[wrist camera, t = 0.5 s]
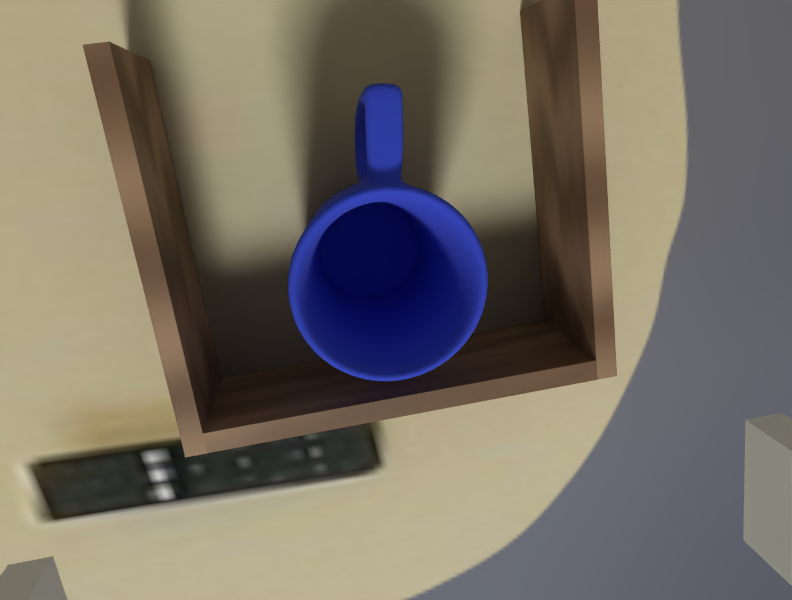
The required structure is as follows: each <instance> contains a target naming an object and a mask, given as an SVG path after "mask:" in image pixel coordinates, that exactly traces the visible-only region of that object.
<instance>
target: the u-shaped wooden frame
mask: <svg viewBox="0 0 792 600" xmlns="http://www.w3.org/2000/svg"><path fill="white" fill-rule="evenodd" d="M520 15H521V28H522V40H523V52H524V65H525V77H526V89H527V101H528V114H529V126H530V138H531V150H532V163H533V175H534V187H535V200H536V212H537V224H538V236H539V249H540V261H541V273H542V286H543V298H544V310H545V321H542V322H536V323H531V324H525V325H519V326H514V327H508V328H502V329H497V330H491V331H486V332H480V333H474V334H472V335H471V336H470V337H469V339H468V340H467V341H466V343H465V344H464V345H463V346H462V347H461V348H460V350H459V351H457V352H456V353H455V354H454V355H453V356H452V357H451V358H450V359H448V360H447V361H446V362H444V363H443V364H441V365H440V366H438V367H436V368H434V369H432V370H431V371H428V372H426V373H424V374H422V375H418V376H415V377H412V378H408V379H403V380H396V381H374V380H368V379H363V378H359V377H355V376H352V375H350V374H347V373H345V372H343V371H341V370H339V369H337V368H335V367H333V366H332V365H330V364H329V363H327V362H326V361H325V360H323V361H317V362H312V363H306V364H300V365H295V366H289V367H283V368H278V369H272V370H267V371H261V372H255V373H250V374H244V375H239V376H233V377H227V378H222V379H221V377H220V372H219V368H218V363H217V359H216V355H215V350H214V346H213V341H212V337H211V332H210V328H209V323H208V319H207V315H206V310H205V306H204V301H203V297H202V292H201V288H200V283H199V279H198V275H197V270H196V266H195V261H194V257H193V252H192V248H191V243H190V239H189V235H188V230H187V226H186V221H185V217H184V212H183V208H182V203H181V199H180V195H179V190H178V186H177V181H176V177H175V172H174V168H173V163H172V159H171V155H170V150H169V146H168V141H167V137H166V132H165V128H164V123H163V119H162V115H161V110H160V106H159V101H158V97H157V92H156V88H155V83H154V79H153V75H152V70H151V66H150V61H149V60H147V59H145V58H143V57H141V56H139V55H137V54H134V53H132V52H130V51H128V50H126V49H124V48H122V47H120V46H117V45H115V44H113V43H111V42H102V43H94V44H86V45H83V48H84V52H85V56H86V60H87V64H88V68H89V72H90V76H91V80H92V84H93V88H94V92H95V96H96V100H97V104H98V108H99V112H100V116H101V120H102V124H103V128H104V132H105V136H106V140H107V144H108V148H109V152H110V156H111V160H112V164H113V168H114V172H115V176H116V180H117V184H118V188H119V192H120V196H121V200H122V204H123V208H124V212H125V216H126V221H127V225H128V229H129V233H130V237H131V241H132V245H133V249H134V253H135V257H136V261H137V265H138V269H139V273H140V277H141V281H142V285H143V289H144V293H145V297H146V301H147V305H148V309H149V313H150V317H151V321H152V325H153V329H154V333H155V337H156V341H157V345H158V349H159V353H160V357H161V361H162V365H163V369H164V373H165V377H166V381H167V385H168V389H169V393H170V397H171V401H172V405H173V409H174V413H175V417H176V421H177V425H178V429H179V433H180V437H181V441H182V445H183V449H184V453H185V457H189V456H195V455H200V454H205V453H211V452H216V451H221V450H226V449H232V448H237V447H242V446H248V445H253V444H258V443H264V442H269V441H274V440H279V439H285V438H290V437H295V436H301V435H306V434H311V433H317V432H322V431H327V430H332V429H338V428H343V427H348V426H354V425H359V424H364V423H370V422H375V421H380V420H385V419H391V418H396V417H401V416H407V415H412V414H417V413H423V412H428V411H433V410H438V409H444V408H449V407H454V406H460V405H465V404H470V403H476V402H481V401H486V400H491V399H497V398H502V397H507V396H513V395H518V394H523V393H529V392H534V391H539V390H544V389H550V388H555V387H560V386H566V385H571V384H576V383H582V382H587V381H592V380H598V379H603V378H608V377H613V376H617V368H616V349H615V330H614V311H613V292H612V273H611V253H610V234H609V215H608V196H607V177H606V158H605V139H604V119H603V100H602V81H601V62H600V43H599V24H598V5H597V0H541V1H540V2H538V3H536V4H534V5H532V6H531V7H529V8H527V9H525V10H523V11H521V12H520Z"/></svg>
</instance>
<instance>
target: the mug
mask: <svg viewBox="0 0 792 600" xmlns="http://www.w3.org/2000/svg"><path fill="white" fill-rule="evenodd" d="M355 155H356V167H357V174H358V177H359V182H358V183H356V184H354V185H352V186H350V187H348V188H346V189H344V190H342V191H340V192H339V193H337V194H335V195H334V196H332V197H331V198H329V199H328V200H327V201H326V202H325V203H324V204H323V205H322V206H321V207H320V208H319V209H318V210H317V211H316V213H315V214H314V216H313V217H312V219H311V221H310V222H309V224H308V226H307V227H306V229H305V231H304V232H303V234H302V236H301V237H300V239H299V241H298V243H297V245H296V248H295V250H294V253H293V256H292V259H291V263H290V268H289V276H288V295H289V302H290V307H291V311H292V314H293V317H294V320H295V322H296V325H297V327H298V329H299V331H300V332H301V334H302V336H303V338H304V339H305V340H306V342H307V343H308V344H309V346H310V347H311V348H312V349H313V350H314V351H315V352H316V353H317V354H318V355H319V356H320V357H321V358H322V359H323V360H325V361H326V362H327V363H329V364H330V365H332V366H333V367H335V368H337V369H339V370H341V371H343V372H345V373H347V374H350V375H352V376H355V377H359V378H363V379H368V380H374V381H396V380H403V379H408V378H412V377H415V376H418V375H422V374H424V373H426V372H428V371H431V370H432V369H434V368H436V367H438V366H440V365H441V364H443V363H444V362H446V361H447V360H448V359H450V358H451V357H452V356H453V355H454V354H455V353H456V352H457V351H459V350H460V348H461V347H462V346H463V345H464V344H465V343H466V341H467V340H468V339H469V337H470V336H471V335H472V333H473V331H474V329H475V328H476V326H477V324H478V322H479V320H480V317H481V315H482V312H483V309H484V305H485V301H486V296H487V287H488V273H487V264H486V259H485V255H484V252H483V249H482V246H481V243H480V241H479V239H478V237H477V235H476V233H475V231H474V230H473V228H472V227H471V225H470V224H469V223H468V221H467V220H466V219H465V218H464V217H463V216H462V215H461V213H460V212H459V211H458V210H456V209H455V208H454V207H453V206H452V205H450V204H449V203H448V202H446V201H445V200H443V199H442V198H440V197H438V196H436V195H434V194H432V193H430V192H428V191H425V190H422V189H419V188H416V187H413V186H410V185H408V184H405V183H404V182H403V181H402V179H401V169H402V159H403V106H402V92H401V89H400V88H399V87H398V86H396V85H394V84H385V83H382V84H372V85H369V86H367V87H366V88H365V89H364V91H363V92H362V94H361V96H360V98H359V102H358V105H357V110H356V117H355Z"/></svg>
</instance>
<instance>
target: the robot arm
mask: <svg viewBox="0 0 792 600" xmlns="http://www.w3.org/2000/svg"><path fill="white" fill-rule="evenodd" d="M745 436H746V437H745V489H744V541H745V542H746V543H747V544H749V546H750V547H751V548H753V549H754V550H755V551H756V552H757V553H758V554H759V555H760V556H761V557H762V558H763V559H764V560H765V561H766V562H767V563H769V565H771V566H772V567H773V568H774V569H775V570H776V571H777V572H778V573H779V574H780V575H781V576H782V577H783V578H784V579H785V580H786V581H788V582H789V583H790V584H791V585H792V419H791V418H789V417H787V416H785V415H784V414H782V413H780V414H775V415H770V416H765V417H760V418H755V419H750V420H746V435H745ZM0 600H67V597H66V594H65V591H64V588H63V585H62V582H61V579H60V576H59V573H58V570H57V567H56V564H55V561H54V558H53V556H52V557H47V558H42V559H37V560H32V561H26V562H21V563H16V564H11V565H8V566H7V567H6V569H5V570H4V572H3V573H2V575H1V576H0Z"/></svg>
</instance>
